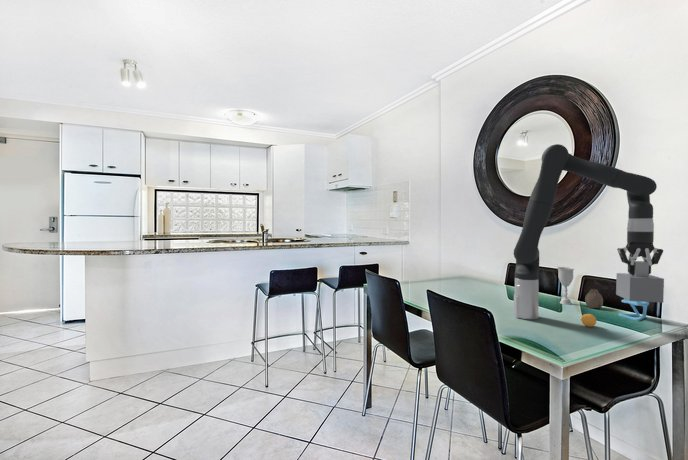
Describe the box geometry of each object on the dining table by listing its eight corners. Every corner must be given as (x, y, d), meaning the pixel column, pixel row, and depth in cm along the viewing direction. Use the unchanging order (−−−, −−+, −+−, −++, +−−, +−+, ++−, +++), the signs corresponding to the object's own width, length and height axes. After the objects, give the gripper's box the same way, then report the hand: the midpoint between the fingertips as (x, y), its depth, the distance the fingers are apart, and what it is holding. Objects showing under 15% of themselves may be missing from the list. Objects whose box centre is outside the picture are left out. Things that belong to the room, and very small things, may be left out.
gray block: (629, 300, 123) (630, 263, 122) (616, 294, 132) (616, 259, 132) (663, 302, 119) (664, 263, 119) (647, 296, 129) (647, 260, 129)
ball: (580, 323, 130) (589, 313, 129) (576, 319, 134) (584, 309, 133) (593, 330, 128) (601, 320, 127) (588, 326, 133) (596, 317, 132)
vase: (606, 309, 153) (606, 291, 153) (589, 309, 155) (589, 291, 155) (598, 306, 160) (598, 288, 160) (582, 305, 162) (582, 287, 161)
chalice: (574, 302, 167) (574, 267, 167) (574, 305, 161) (574, 269, 161) (557, 300, 171) (557, 266, 171) (557, 303, 165) (557, 268, 165)
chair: (652, 319, 138) (652, 291, 138) (637, 321, 136) (637, 292, 136) (632, 314, 146) (633, 287, 145) (618, 315, 144) (618, 288, 144)
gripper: (622, 230, 123) (621, 275, 124) (669, 230, 119) (668, 277, 120) (613, 230, 131) (612, 272, 131) (657, 230, 126) (656, 274, 127)
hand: (639, 274), depth 125 cm, fingers closed on gray block, 4 cm apart
